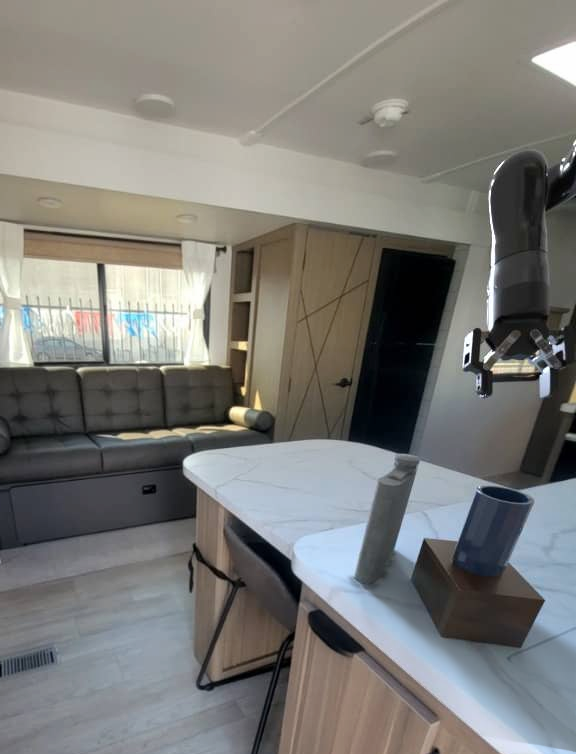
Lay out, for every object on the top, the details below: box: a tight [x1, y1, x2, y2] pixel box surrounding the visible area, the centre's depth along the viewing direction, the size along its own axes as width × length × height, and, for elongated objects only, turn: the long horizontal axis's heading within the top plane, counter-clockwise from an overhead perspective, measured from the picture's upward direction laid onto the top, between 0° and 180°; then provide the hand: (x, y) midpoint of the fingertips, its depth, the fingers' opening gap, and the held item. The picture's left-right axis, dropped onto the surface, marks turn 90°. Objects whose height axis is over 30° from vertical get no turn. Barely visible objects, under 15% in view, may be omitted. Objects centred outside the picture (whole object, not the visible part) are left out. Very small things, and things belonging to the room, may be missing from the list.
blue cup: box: [452, 485, 535, 577], centre depth 55 cm, size 6×6×11 cm
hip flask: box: [353, 453, 421, 585], centre depth 68 cm, size 16×4×20 cm, turn 143°
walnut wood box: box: [410, 537, 546, 649], centre depth 60 cm, size 10×14×8 cm
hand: (516, 396), depth 62 cm, fingers open, 8 cm apart
